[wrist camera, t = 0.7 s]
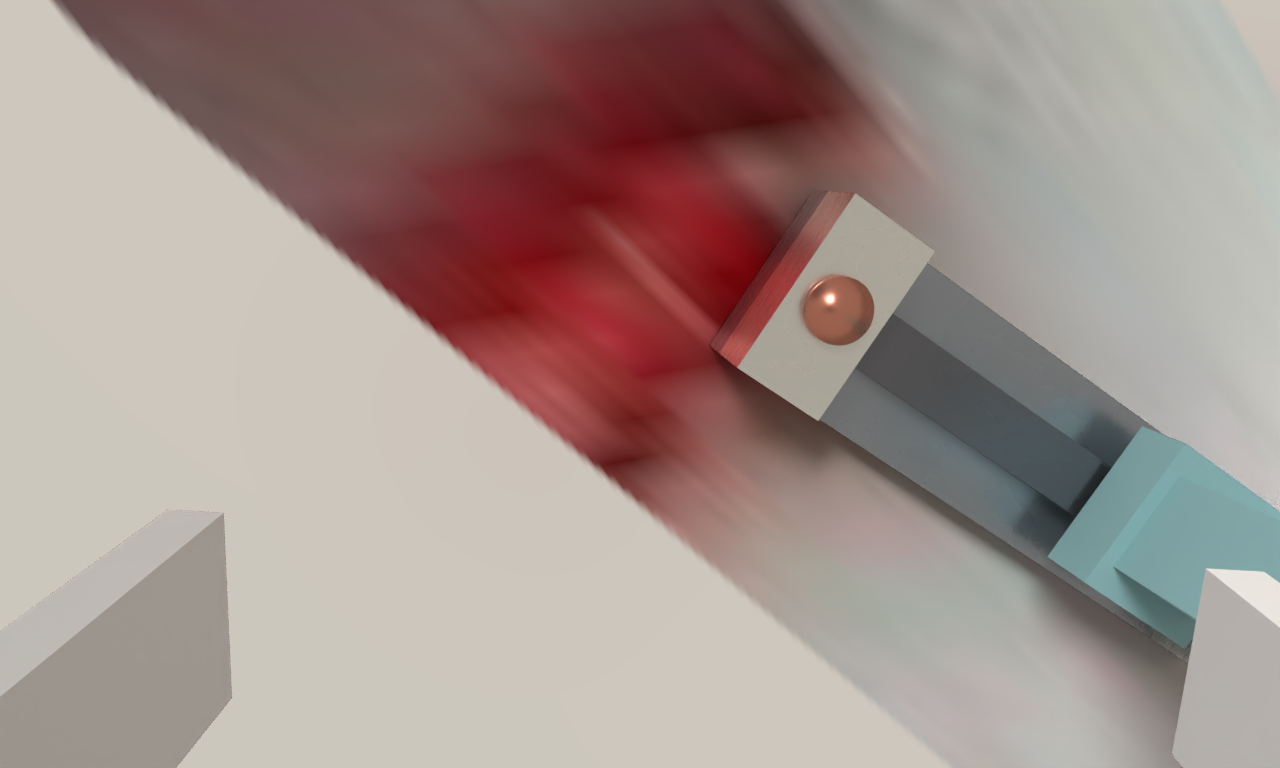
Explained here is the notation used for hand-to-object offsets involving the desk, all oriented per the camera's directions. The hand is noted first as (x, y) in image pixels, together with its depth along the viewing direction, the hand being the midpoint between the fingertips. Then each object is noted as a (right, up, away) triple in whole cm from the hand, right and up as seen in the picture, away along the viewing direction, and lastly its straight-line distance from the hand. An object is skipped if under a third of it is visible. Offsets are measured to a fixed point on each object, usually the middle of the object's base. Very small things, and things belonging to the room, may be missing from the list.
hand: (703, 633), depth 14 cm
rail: (+12, +1, +22) cm, 25 cm away
